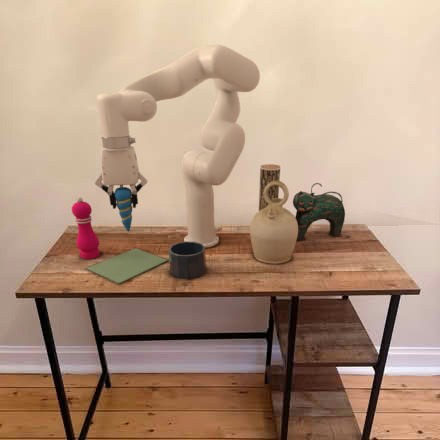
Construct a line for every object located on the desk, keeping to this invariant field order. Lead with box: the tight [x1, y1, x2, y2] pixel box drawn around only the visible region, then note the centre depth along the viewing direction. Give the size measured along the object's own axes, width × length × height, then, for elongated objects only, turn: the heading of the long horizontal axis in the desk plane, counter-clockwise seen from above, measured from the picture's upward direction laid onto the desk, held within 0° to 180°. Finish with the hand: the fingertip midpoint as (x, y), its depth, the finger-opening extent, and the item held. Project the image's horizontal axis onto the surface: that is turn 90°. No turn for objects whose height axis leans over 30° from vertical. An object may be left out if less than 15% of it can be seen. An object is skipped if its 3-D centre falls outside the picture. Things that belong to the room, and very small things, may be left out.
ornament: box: [114, 185, 133, 232], centre depth 120 cm, size 5×5×15 cm
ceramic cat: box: [292, 182, 346, 242], centre depth 144 cm, size 20×6×20 cm, turn 104°
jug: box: [249, 180, 298, 265], centre depth 128 cm, size 15×16×25 cm
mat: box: [86, 247, 169, 285], centre depth 130 cm, size 20×16×1 cm
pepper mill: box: [71, 196, 100, 260], centre depth 132 cm, size 7×7×20 cm
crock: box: [168, 241, 207, 280], centre depth 124 cm, size 11×11×8 cm
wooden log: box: [258, 163, 281, 212], centre depth 145 cm, size 7×7×25 cm
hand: (124, 206), depth 120 cm, fingers closed on ornament, 5 cm apart
